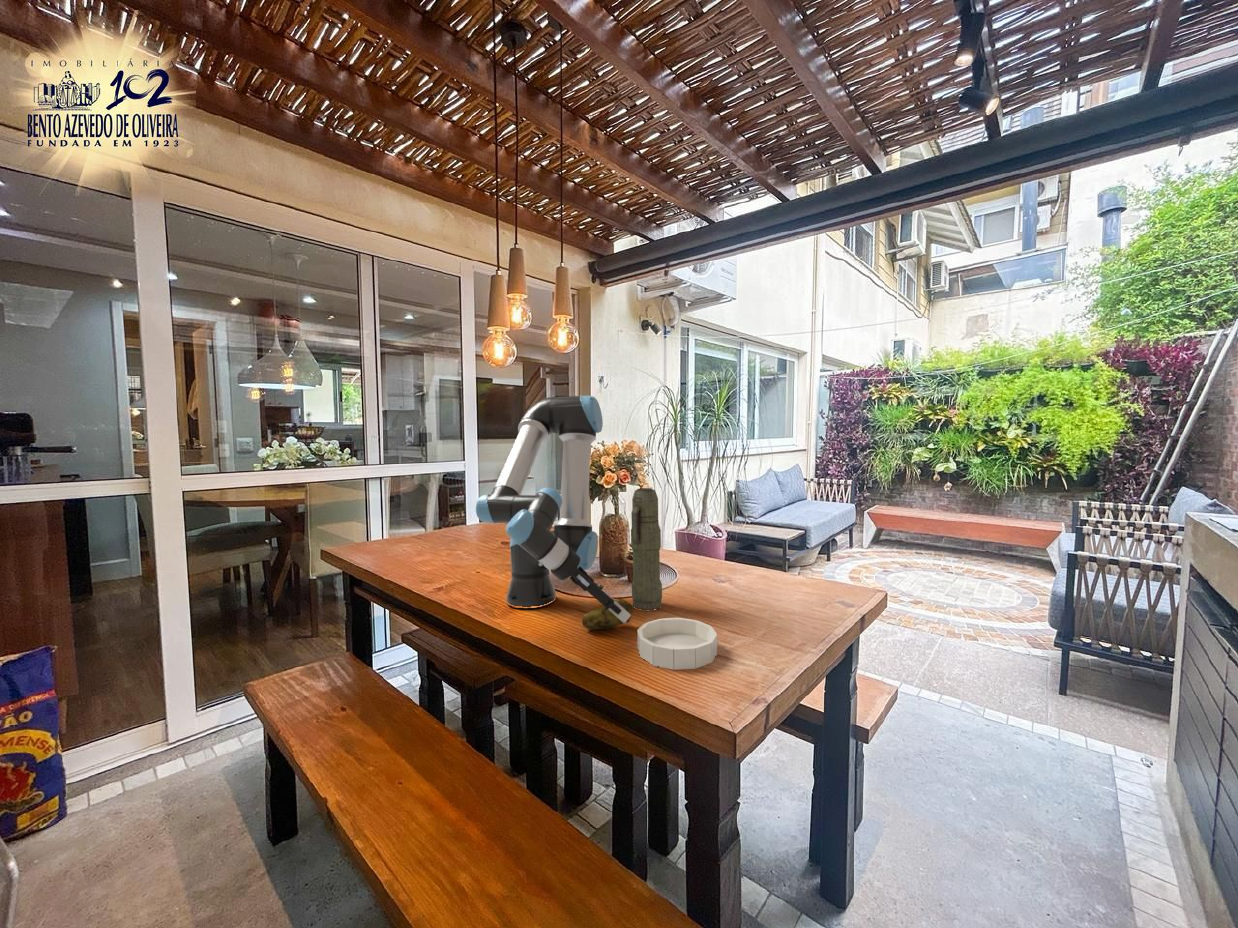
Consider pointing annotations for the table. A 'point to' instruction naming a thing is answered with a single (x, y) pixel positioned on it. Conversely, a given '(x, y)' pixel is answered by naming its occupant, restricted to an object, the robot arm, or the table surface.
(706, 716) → the table surface
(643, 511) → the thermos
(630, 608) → the potato
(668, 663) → the bowl
